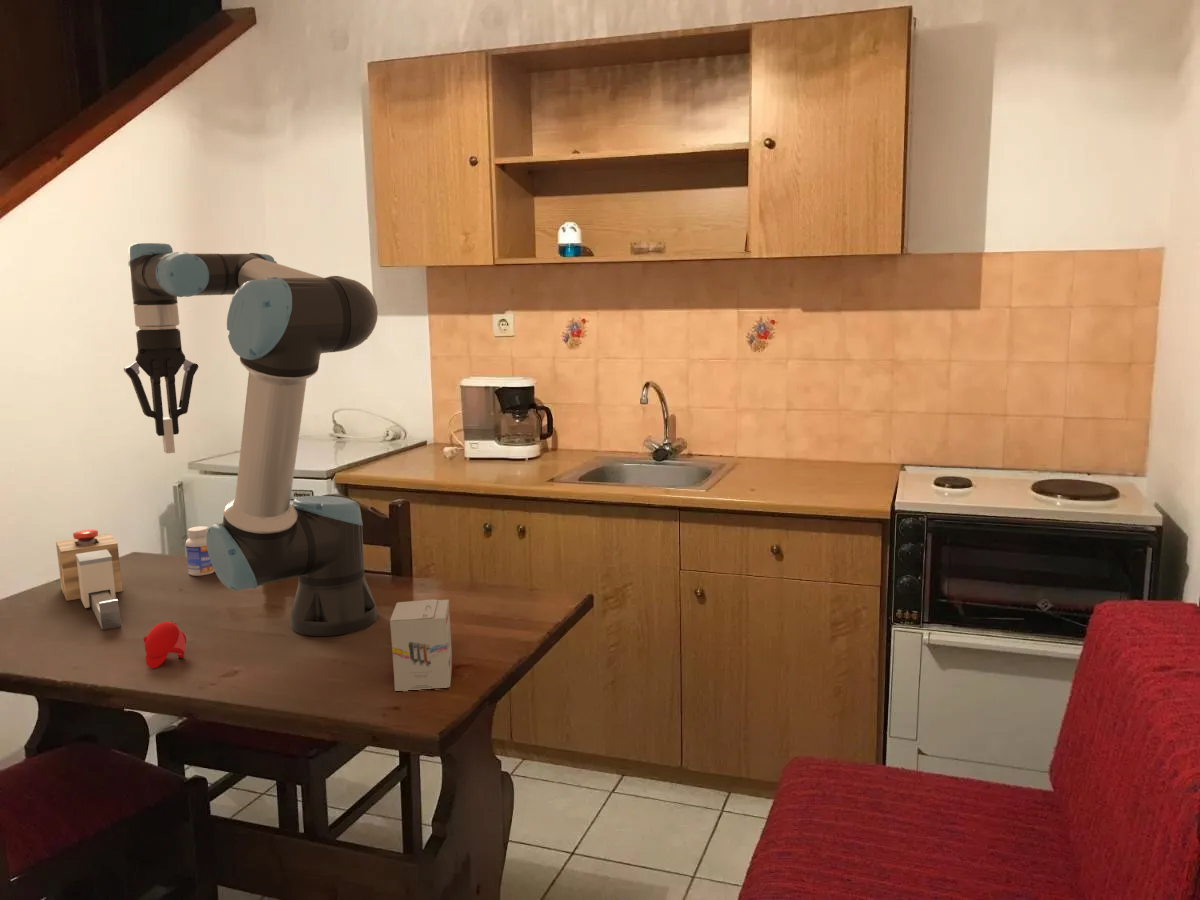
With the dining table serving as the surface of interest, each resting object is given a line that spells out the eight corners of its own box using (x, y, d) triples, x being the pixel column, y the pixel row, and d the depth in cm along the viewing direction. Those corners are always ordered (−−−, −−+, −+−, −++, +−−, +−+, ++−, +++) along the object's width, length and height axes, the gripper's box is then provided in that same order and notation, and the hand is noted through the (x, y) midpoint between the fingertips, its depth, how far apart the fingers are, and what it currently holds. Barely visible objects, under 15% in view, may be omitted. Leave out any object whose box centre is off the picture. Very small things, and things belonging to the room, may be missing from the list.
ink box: (399, 670, 155) (395, 599, 152) (453, 667, 155) (450, 597, 153) (392, 693, 146) (388, 618, 144) (449, 690, 147) (446, 616, 145)
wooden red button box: (122, 591, 195) (117, 543, 193) (66, 600, 189) (60, 551, 187) (115, 579, 202) (110, 533, 200) (61, 588, 197) (55, 541, 195)
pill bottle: (205, 577, 203) (201, 532, 202) (182, 575, 204) (178, 531, 203) (220, 569, 209) (217, 525, 207) (198, 568, 210) (194, 524, 208)
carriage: (116, 602, 186) (111, 556, 185) (84, 608, 183) (79, 561, 182) (111, 594, 191) (107, 549, 190) (80, 599, 188) (75, 554, 187)
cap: (156, 631, 164) (133, 624, 158) (187, 620, 163) (165, 612, 158) (160, 676, 160) (136, 671, 155) (192, 665, 160) (170, 659, 154)
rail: (120, 626, 175) (118, 600, 174) (102, 630, 173) (99, 603, 172) (103, 594, 193) (100, 570, 192) (86, 597, 191) (83, 573, 190)
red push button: (101, 556, 194) (99, 533, 193) (77, 560, 191) (74, 536, 190) (98, 551, 197) (96, 528, 196) (74, 554, 195) (71, 531, 194)
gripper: (190, 325, 187) (200, 445, 191) (116, 328, 179) (128, 453, 184) (199, 327, 180) (209, 451, 185) (122, 330, 173) (135, 459, 178)
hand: (169, 451), depth 184 cm, fingers closed
